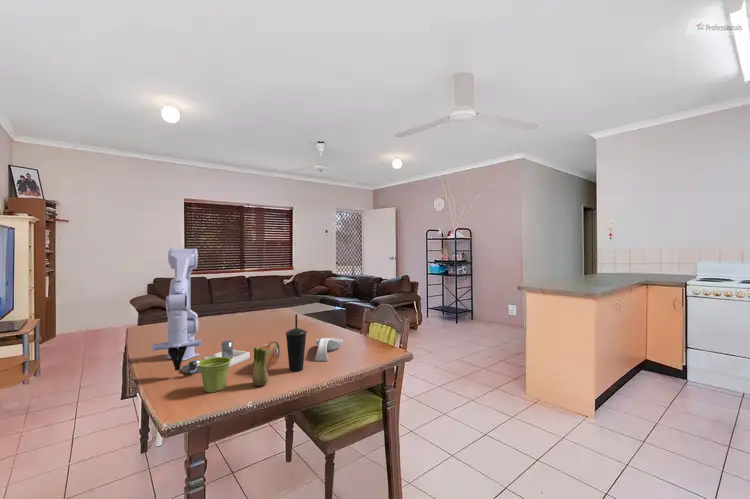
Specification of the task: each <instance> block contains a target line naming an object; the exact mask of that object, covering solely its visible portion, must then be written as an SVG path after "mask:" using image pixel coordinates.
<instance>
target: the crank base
mask: <svg viewBox="0 0 750 499" xmlns="http://www.w3.org/2000/svg"><path fill="white" fill-rule="evenodd" d="M181 373H183V374H185V375H188V374H189V375H193V374H194V375H195V374H200V373H201V370H200V366H198V367H197V370H196V372H191V373H190V370H189V364H186V365H184V366H182V367H181Z"/></svg>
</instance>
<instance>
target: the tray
mask: <svg viewBox="0 0 750 499" xmlns="http://www.w3.org/2000/svg"><path fill="white" fill-rule="evenodd" d="M250 354H251V353H250V351H245V350H243V351H242V350H235V349H233V358H232V359H231V362H230V364H229V367H228V369H229V368H230V367H234V366H236V365H238V364H240V363H243V362H245V361H247V360H249V359H251V358H250V356H251V355H250ZM213 357H222V350H221V351H219V352H216V353H213V354H210V355H209V356H208V355H207V356H205V357H203V359H202V360H204V359H208V358H213Z"/></svg>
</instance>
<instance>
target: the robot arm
mask: <svg viewBox="0 0 750 499" xmlns="http://www.w3.org/2000/svg"><path fill="white" fill-rule="evenodd" d="M198 255H199V254H198V249H197V248H195V247H194V248H173V247H172V248H170V249H168V255H167V256H168V257H167V262H168V264H169V266H170V268H171V269H172V270H174V277H173V278H172V279H171V280H170V284H169V292H168V296H166V298H165V309H166V318H167V341H166V342H159V343H153V344H152V345H151V352H157V351H165V350H167V356H166V358H165V359H171V360H172V363H173V367H174V371H180V370H181V365H182V361H186V360H190V359H193V358H196V357H198V356H200V354H201V353H196V352H195V347H198V348H199V347H202V339H195V334H197V333H198V332H199V318H198V317H199V315H198V313H196V312H195V311H193V310H192V309H191V274H192V272H193V270H195V269H197V267H198V259H199V258H198V257H199V256H198Z"/></svg>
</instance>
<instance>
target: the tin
mask: <svg viewBox="0 0 750 499" xmlns="http://www.w3.org/2000/svg"><path fill="white" fill-rule="evenodd" d="M262 347H263V349H265V350H266V355H265V363H266V370H268V369H270V368H271V367H272V366H274V365H276V364H277V362H278V361H279V359H280V355H281V354H280V345H279V343H278V342H277V341H268V342H266V343H265V344H263V345H261V346H259V347H258V348H262Z"/></svg>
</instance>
